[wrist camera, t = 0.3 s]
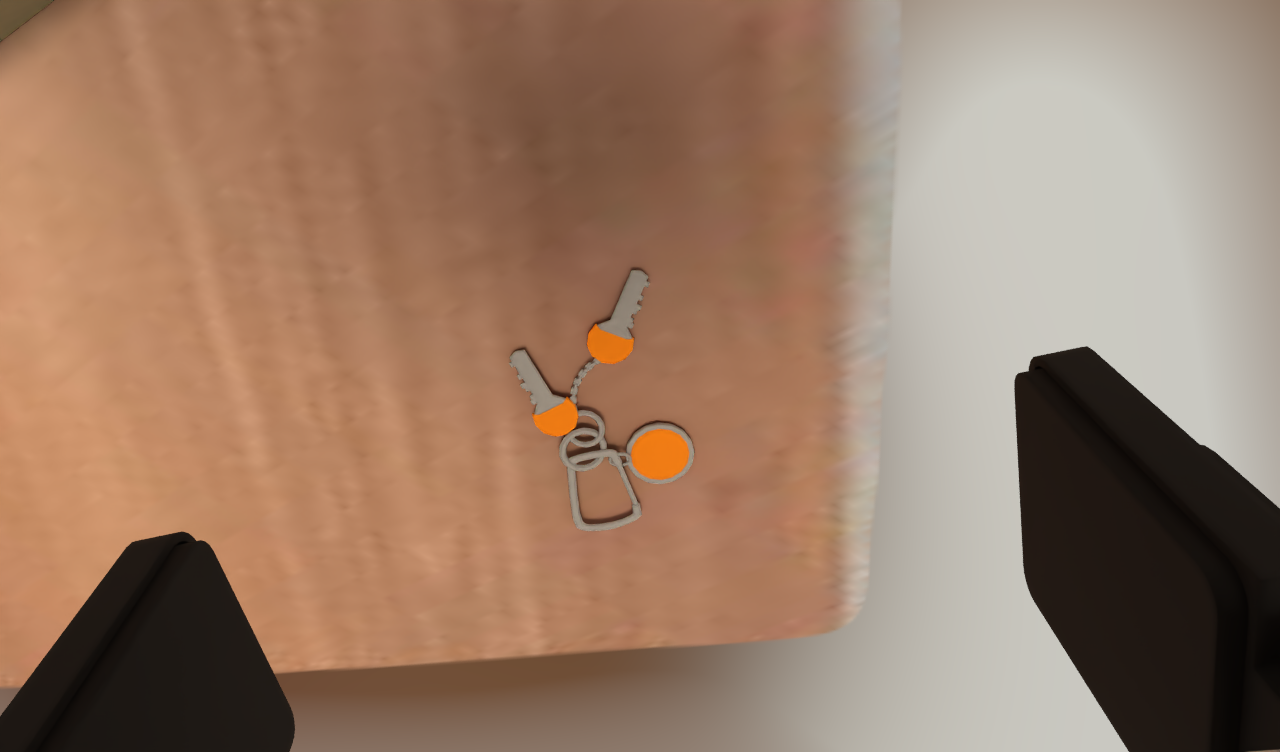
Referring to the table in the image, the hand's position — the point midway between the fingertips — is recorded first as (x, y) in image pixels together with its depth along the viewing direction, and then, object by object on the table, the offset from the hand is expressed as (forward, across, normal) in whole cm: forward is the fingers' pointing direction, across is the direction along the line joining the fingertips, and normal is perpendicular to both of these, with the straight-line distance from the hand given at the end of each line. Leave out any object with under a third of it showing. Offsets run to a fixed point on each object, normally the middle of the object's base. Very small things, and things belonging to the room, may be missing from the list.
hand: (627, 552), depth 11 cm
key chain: (+31, +3, +14) cm, 34 cm away
